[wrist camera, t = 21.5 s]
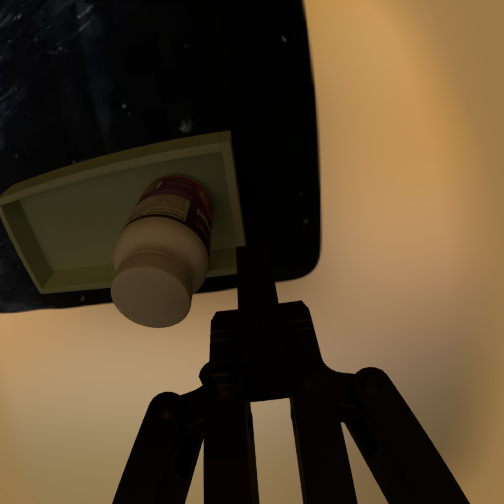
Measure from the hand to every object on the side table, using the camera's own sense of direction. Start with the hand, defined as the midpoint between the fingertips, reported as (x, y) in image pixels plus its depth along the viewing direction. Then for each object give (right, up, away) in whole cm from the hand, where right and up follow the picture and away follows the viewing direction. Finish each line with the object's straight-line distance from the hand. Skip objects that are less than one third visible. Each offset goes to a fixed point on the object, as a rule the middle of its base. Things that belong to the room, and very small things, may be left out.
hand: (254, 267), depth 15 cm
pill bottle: (-6, +4, +7) cm, 10 cm away
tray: (-11, +4, +7) cm, 13 cm away
